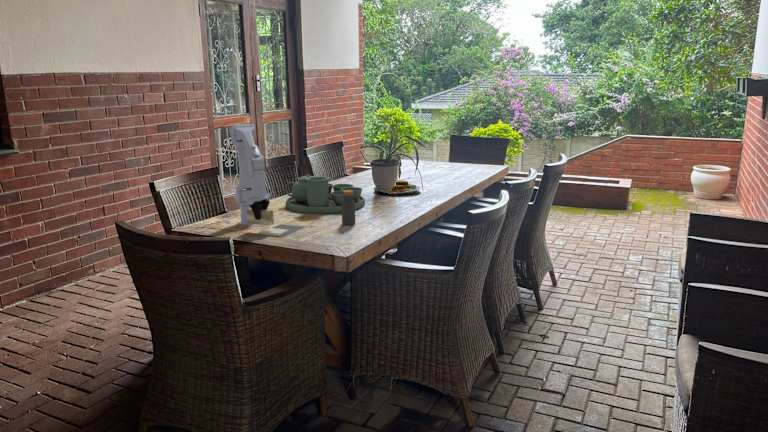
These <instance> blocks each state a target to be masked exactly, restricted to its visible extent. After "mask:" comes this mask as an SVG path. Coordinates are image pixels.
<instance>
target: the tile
mask: <svg viewBox="0 0 768 432" xmlns="http://www.w3.org/2000/svg"><path fill="white" fill-rule="evenodd" d="M260 232H261V235H270V236H279V237H280V236H282V235H284V234H287V233H289V230H286V229H276V228H273V227H269V228H267V229H264V230H262V231H260Z"/></svg>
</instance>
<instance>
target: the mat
mask: <svg viewBox="0 0 768 432" xmlns="http://www.w3.org/2000/svg"><path fill="white" fill-rule="evenodd" d="M272 228H276V229H286V230H289V233H287V234H284V235H282V236H280V237H279V236H270V235H261V231H260V232H258V233H255V234H254V236H259V237H261V236H262V237H271V238H278V239H279V238H280V239H282V238H284V237H287V236H289V235H291V234H294V233H296V232H298V231H300V230H302V229H304V228H306V226H303V225H291V224H283V223H281V224H277V225H276V226H273V227H272Z"/></svg>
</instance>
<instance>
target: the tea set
mask: <svg viewBox="0 0 768 432" xmlns="http://www.w3.org/2000/svg"><path fill="white" fill-rule="evenodd" d="M329 180H330V177H328V176H324V175H322V176H320V175H319V176H314V175H310V174H309V173H308V174H306V175H303V176H300V177H299V178H298V181H289V182H287V183H286V184H285V187H284V191H285V194H286V195H288V196H289V197H288V198H286V200H285V207H286V208H287V209H289V210H291V211H293V212H297V213H298V212H299V213H304V214H321V215H322V214H327V215H328V214H340V213H342V200H344V198H343V197H342V195H343V191H344V190H352V191H353V195H354V197H353V200H355V211H356V210H359V209H361V208H362V207H363V206H365V203H366V199H365V198H364V197H363V196H362V191H363V188H362V187H357V186H354V185H353V184H349V183H336V184H333V183H329ZM291 184H292V186H291V193H290V192H288V186H289V185H291ZM332 190H333V191H332Z"/></svg>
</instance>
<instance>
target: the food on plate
mask: <svg viewBox="0 0 768 432" xmlns="http://www.w3.org/2000/svg"><path fill="white" fill-rule="evenodd" d="M396 180H397V182H396V185H395V186H393V188H392V191H390V192H391V193H388V192H387V193H388V194H387V195H392V196H393V195H394V196H395V195H402V194H410V193H415V192H416V191H418V192H419V190H421V188H422V187H421V186H419V185H415V184H412V183H411V184H410V183H409V182H408V180H403V179H396ZM382 194H385V193H384V192H383V193H382Z"/></svg>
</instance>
